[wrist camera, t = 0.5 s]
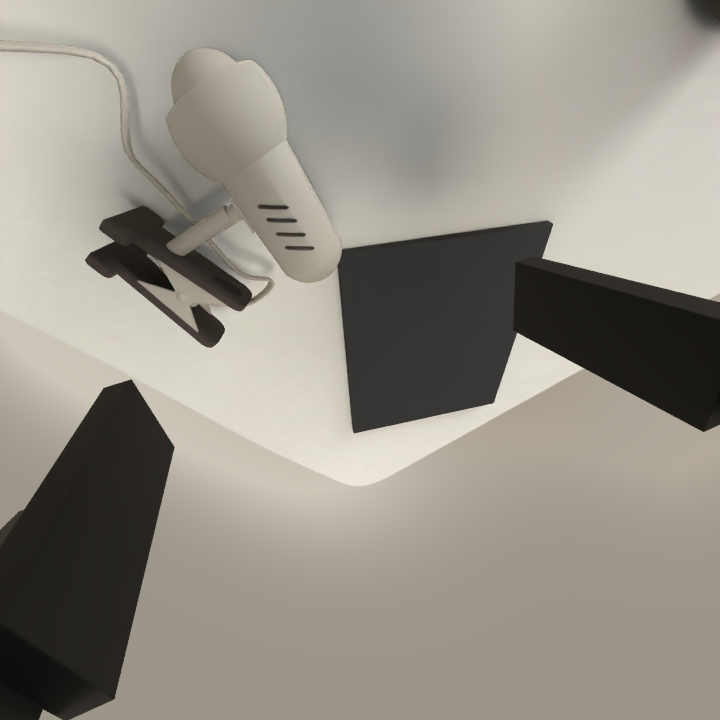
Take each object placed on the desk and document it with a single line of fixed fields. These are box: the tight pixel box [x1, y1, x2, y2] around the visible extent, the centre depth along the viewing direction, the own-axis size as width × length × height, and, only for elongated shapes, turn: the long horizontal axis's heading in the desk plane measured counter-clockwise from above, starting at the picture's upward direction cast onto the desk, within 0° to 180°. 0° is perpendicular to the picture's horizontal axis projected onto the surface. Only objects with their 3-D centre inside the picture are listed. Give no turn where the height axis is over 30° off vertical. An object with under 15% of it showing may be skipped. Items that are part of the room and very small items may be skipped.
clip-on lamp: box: [0, 40, 342, 348], centre depth 16 cm, size 12×6×18 cm
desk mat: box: [338, 221, 553, 433], centre depth 31 cm, size 20×16×1 cm
